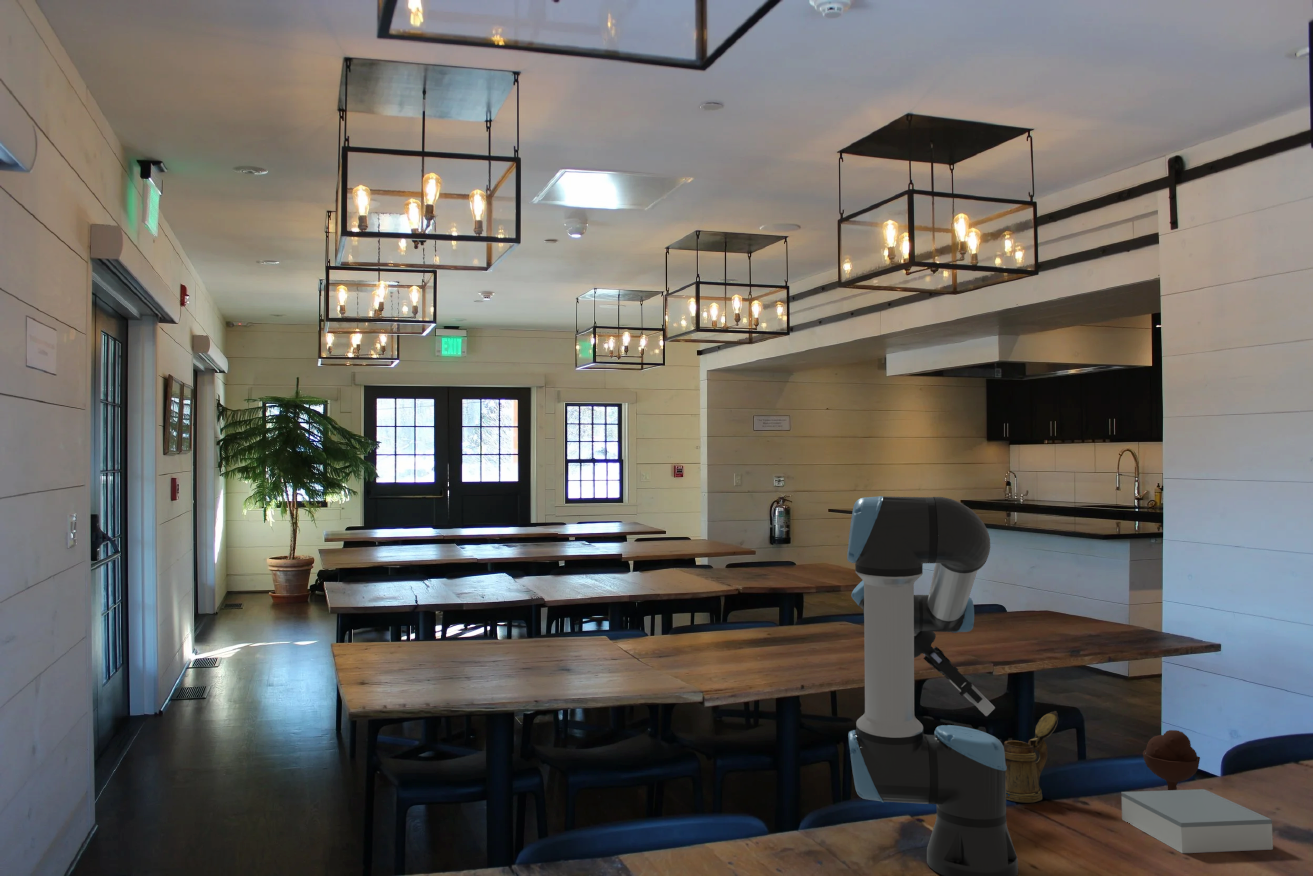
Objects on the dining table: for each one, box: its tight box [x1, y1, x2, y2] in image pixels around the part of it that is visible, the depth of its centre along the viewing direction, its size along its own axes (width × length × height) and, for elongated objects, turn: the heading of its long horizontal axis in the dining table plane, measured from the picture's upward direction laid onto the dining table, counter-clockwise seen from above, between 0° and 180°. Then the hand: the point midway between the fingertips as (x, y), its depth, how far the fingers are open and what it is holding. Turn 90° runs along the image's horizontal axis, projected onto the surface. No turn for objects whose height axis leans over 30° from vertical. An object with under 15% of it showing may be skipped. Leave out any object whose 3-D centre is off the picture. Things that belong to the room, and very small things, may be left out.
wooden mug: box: [1003, 710, 1059, 804], centre depth 204 cm, size 9×14×18 cm, turn 97°
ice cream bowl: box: [1142, 729, 1201, 790], centre depth 201 cm, size 11×11×15 cm
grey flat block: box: [1120, 788, 1274, 854], centre depth 181 cm, size 18×18×5 cm
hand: (982, 704), depth 206 cm, fingers open, 13 cm apart
